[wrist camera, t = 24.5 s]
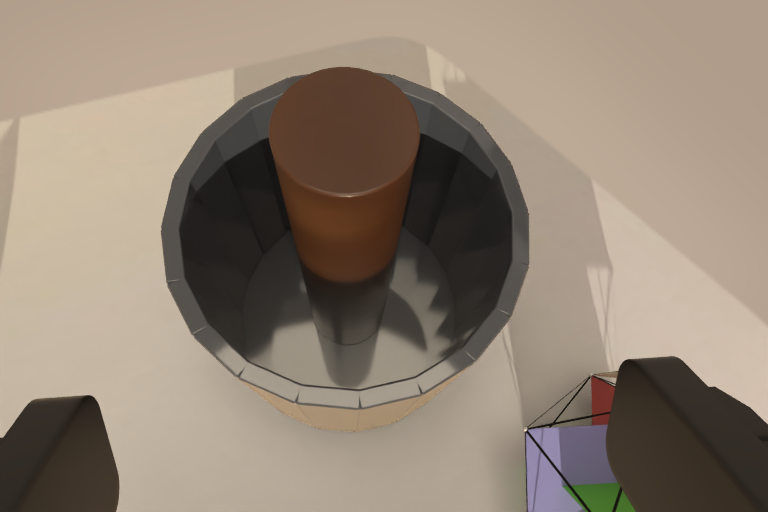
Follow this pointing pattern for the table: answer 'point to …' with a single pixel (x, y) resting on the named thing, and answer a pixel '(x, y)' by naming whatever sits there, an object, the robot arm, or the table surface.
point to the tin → (286, 283)
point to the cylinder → (345, 190)
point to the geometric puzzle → (574, 461)
